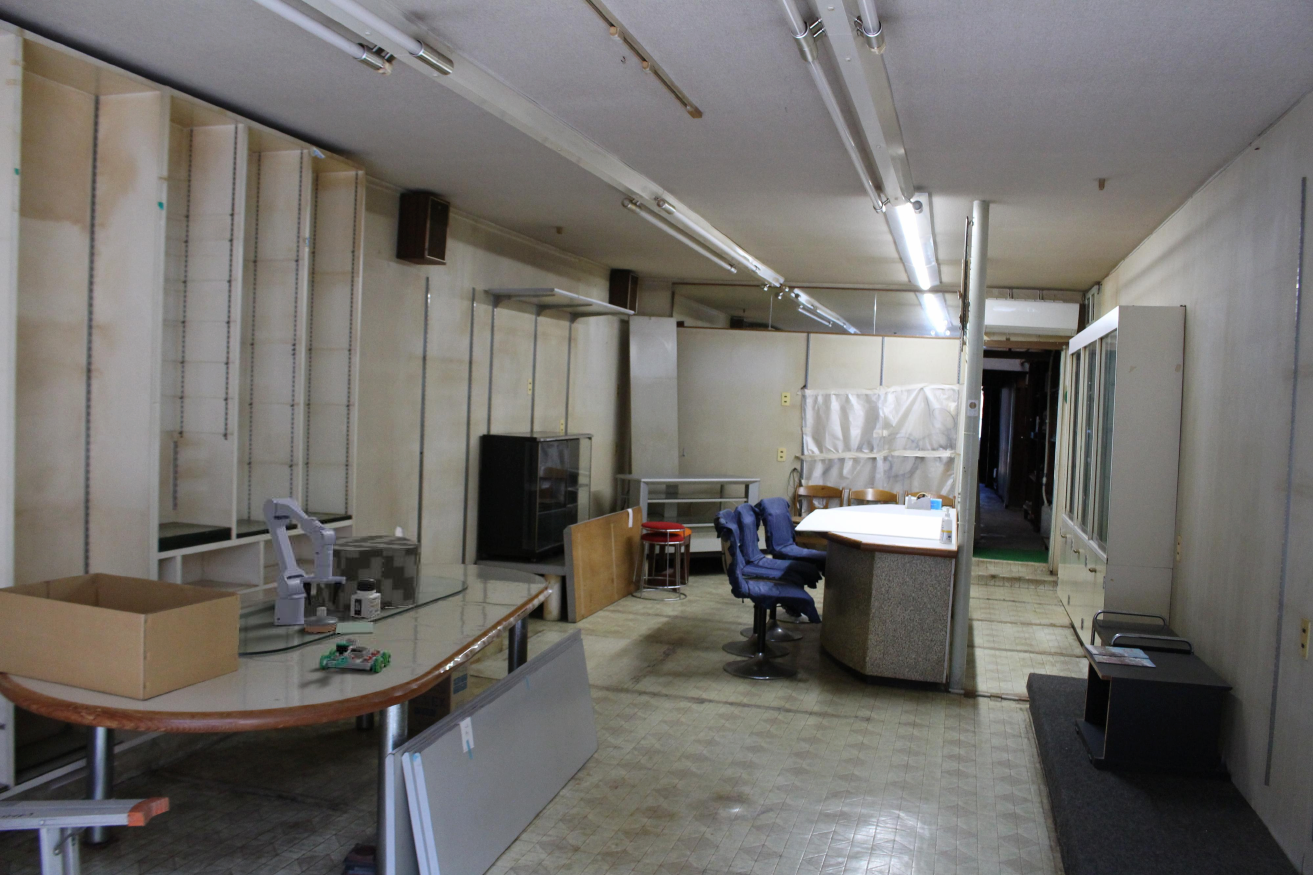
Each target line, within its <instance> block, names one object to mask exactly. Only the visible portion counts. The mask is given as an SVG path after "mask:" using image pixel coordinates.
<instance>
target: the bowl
mask: <svg viewBox="0 0 1313 875" xmlns="http://www.w3.org/2000/svg"><path fill="white" fill-rule="evenodd" d="M336 627H337V623H336V624H333V625H327V626H310V625H306V624H305V628H304V629H305V632H307V631H308V633H312V632H313V634H318V633H317V632H327V633H329V632H328V631H331V632H333V631H332V630H335V631H336V629H335V628H336Z"/></svg>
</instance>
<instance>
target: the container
mask: <svg viewBox="0 0 1313 875" xmlns="http://www.w3.org/2000/svg"><path fill="white" fill-rule="evenodd" d="M375 592H376V582H375V581H374V580H371V579H363V580H360V581H358V582H357V593H358V594H355V595H352V596H351V612H350V617H351V616H354V618H361V617H365V618H364V619H371V618H374V617H376V616H378V615H377V614H379V615H380V614H381V609H380V598H381V594H380V593H375ZM375 615H376V616H375ZM373 616H374V617H373ZM370 617H371V618H370Z"/></svg>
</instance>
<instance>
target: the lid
mask: <svg viewBox="0 0 1313 875" xmlns="http://www.w3.org/2000/svg"><path fill="white" fill-rule="evenodd" d="M305 618H306V617H305ZM337 623H339V618H338V617H336V616H330V615H329V616H327V608H326V607H325V606H320V607H317V608H316V616H310V617H307V618H306V619H304V624H303V625H305V626H306V625H310V626H327V625H333V624H336V625H337Z"/></svg>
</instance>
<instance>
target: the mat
mask: <svg viewBox="0 0 1313 875" xmlns="http://www.w3.org/2000/svg"><path fill="white" fill-rule="evenodd" d="M334 632H335V633H334V635H338V634H337V633H340V634H339V635H350V634H351V635H354V634H357V635H358V634H359V635H360V634H363V635H365V634H374V621H369V622H361V621H359V622H338V623H336V629H335V631H334Z"/></svg>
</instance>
